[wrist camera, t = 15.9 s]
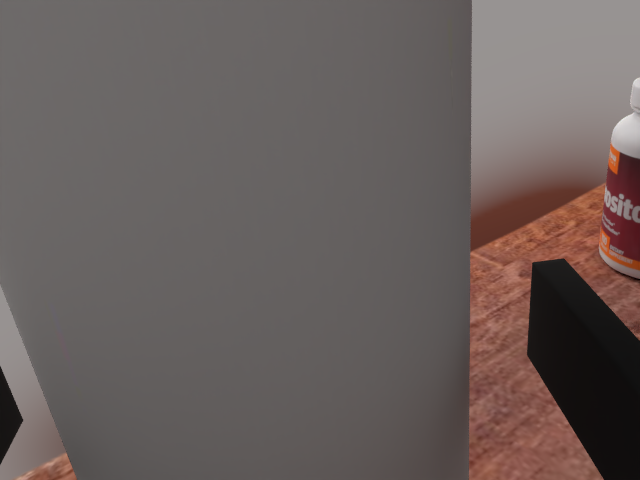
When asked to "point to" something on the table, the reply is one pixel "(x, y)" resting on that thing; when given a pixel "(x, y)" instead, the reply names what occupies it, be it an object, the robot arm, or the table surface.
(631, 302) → the table surface
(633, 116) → the pill bottle
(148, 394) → the container
